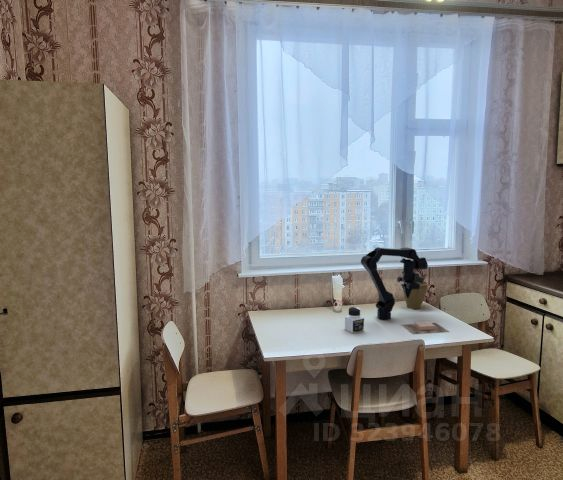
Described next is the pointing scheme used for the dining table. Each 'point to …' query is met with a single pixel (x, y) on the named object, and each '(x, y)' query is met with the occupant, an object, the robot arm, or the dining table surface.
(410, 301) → the plant pot
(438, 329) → the board
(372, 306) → the dining table surface
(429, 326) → the tile
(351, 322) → the medicine bottle
